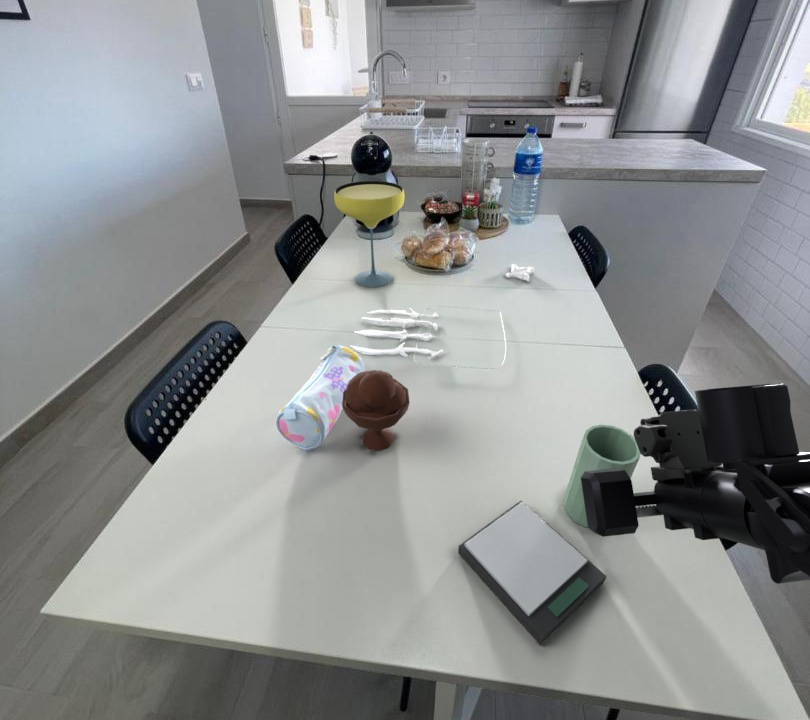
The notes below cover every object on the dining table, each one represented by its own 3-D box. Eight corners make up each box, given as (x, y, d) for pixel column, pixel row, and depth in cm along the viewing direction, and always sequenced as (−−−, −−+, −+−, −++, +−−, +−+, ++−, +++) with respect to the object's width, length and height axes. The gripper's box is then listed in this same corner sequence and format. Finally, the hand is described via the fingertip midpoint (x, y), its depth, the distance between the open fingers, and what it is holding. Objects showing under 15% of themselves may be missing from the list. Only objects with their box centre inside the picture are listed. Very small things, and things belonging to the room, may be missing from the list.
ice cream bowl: (421, 430, 79) (422, 362, 70) (385, 473, 71) (382, 401, 62) (371, 409, 83) (367, 342, 74) (333, 447, 76) (323, 377, 67)
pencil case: (328, 376, 92) (323, 337, 86) (368, 383, 90) (365, 344, 84) (277, 449, 75) (267, 407, 70) (325, 460, 73) (318, 417, 68)
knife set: (366, 303, 116) (366, 299, 116) (502, 311, 112) (503, 307, 112) (342, 360, 96) (341, 356, 95) (507, 372, 92) (508, 368, 91)
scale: (603, 583, 56) (608, 573, 55) (540, 645, 51) (544, 636, 49) (519, 507, 66) (521, 497, 64) (457, 553, 60) (459, 542, 58)
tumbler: (622, 512, 65) (651, 447, 57) (593, 538, 61) (620, 472, 54) (582, 481, 69) (604, 417, 61) (553, 504, 66) (572, 439, 58)
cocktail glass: (342, 267, 135) (334, 181, 121) (401, 264, 137) (401, 179, 122) (341, 295, 121) (332, 201, 106) (408, 291, 122) (408, 198, 108)
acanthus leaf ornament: (510, 268, 135) (511, 262, 134) (533, 271, 133) (534, 265, 132) (505, 277, 129) (505, 271, 128) (529, 281, 127) (530, 275, 126)
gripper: (807, 405, 41) (688, 412, 56) (614, 422, 39) (546, 425, 55) (836, 531, 39) (705, 503, 55) (635, 554, 38) (558, 519, 53)
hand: (629, 485), depth 54 cm, fingers open, 9 cm apart
